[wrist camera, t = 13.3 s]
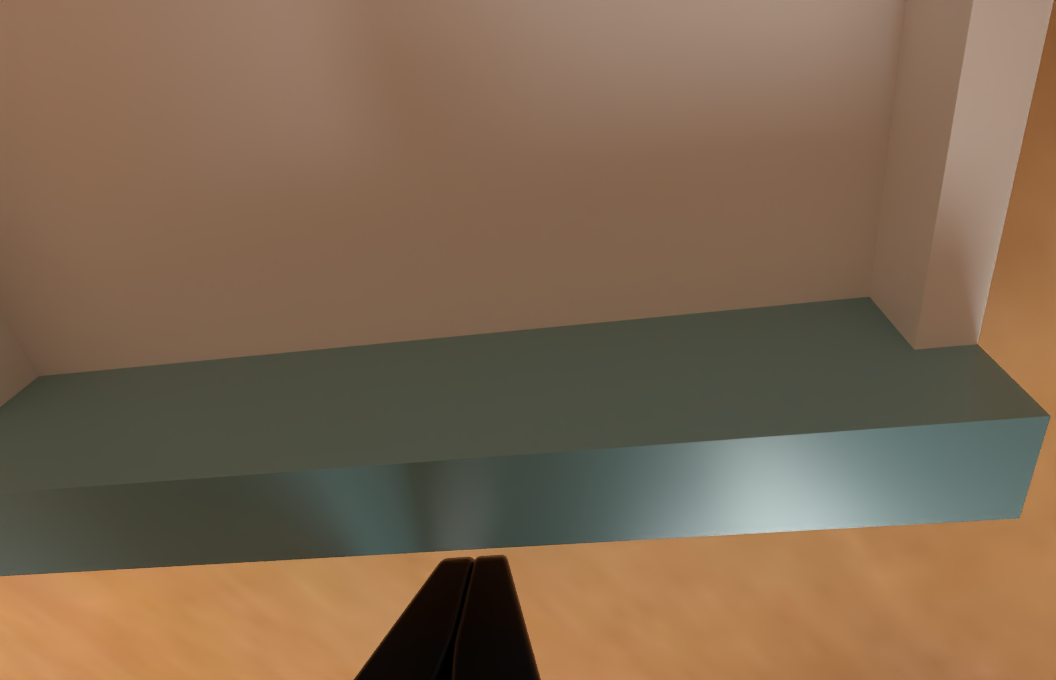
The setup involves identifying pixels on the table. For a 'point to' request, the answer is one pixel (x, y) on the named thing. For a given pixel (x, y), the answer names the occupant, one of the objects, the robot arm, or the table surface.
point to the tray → (500, 273)
